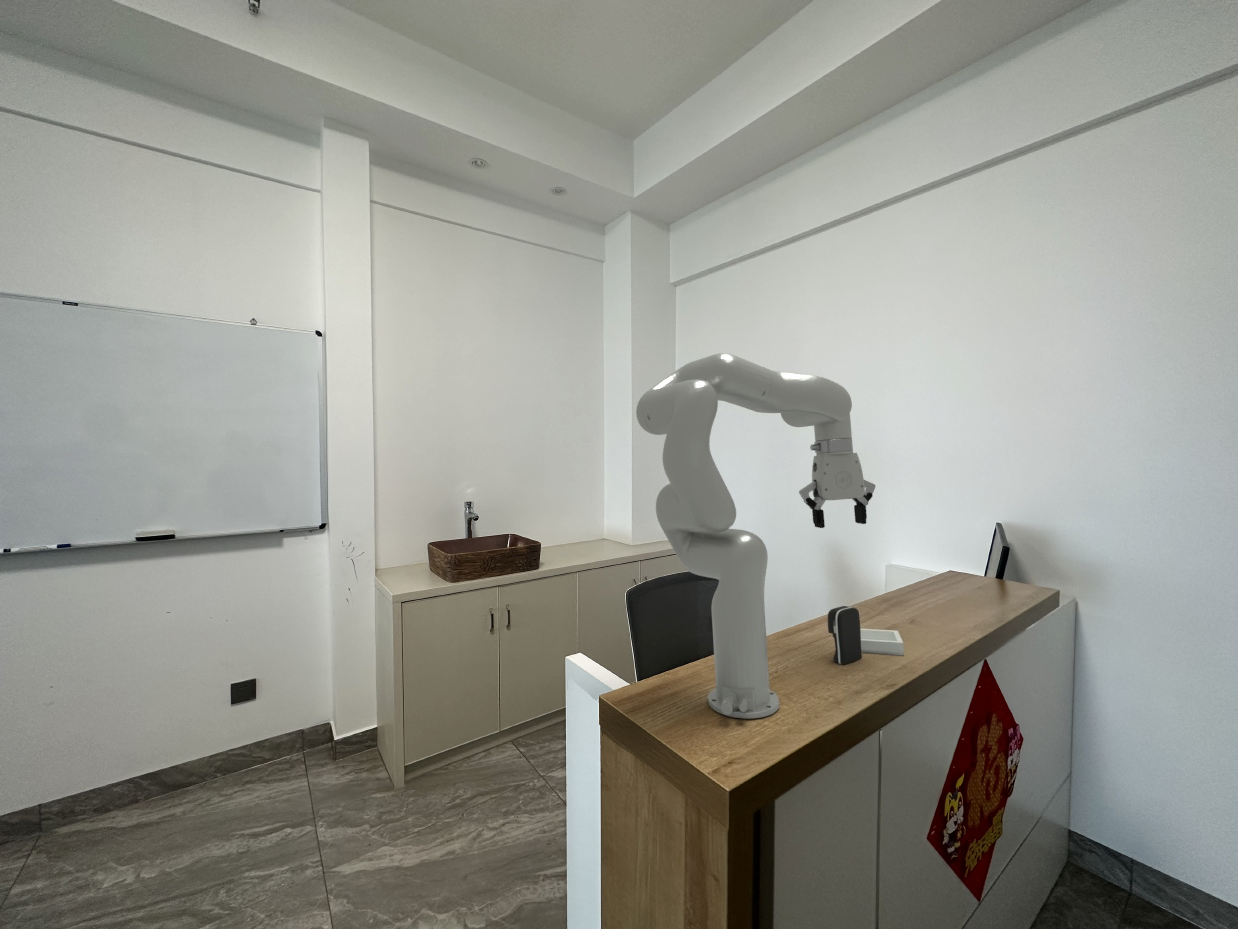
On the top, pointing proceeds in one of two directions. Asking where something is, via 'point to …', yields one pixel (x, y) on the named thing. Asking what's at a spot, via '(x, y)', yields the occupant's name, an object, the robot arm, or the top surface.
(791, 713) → the top surface
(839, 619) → the battery charger
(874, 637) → the tray
